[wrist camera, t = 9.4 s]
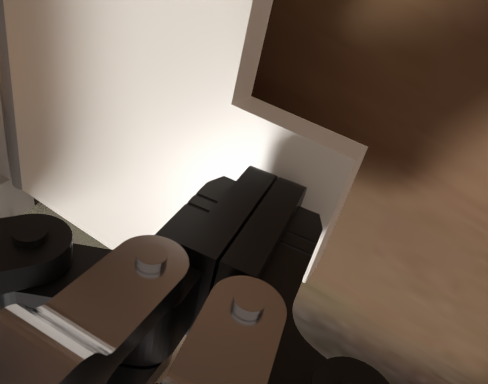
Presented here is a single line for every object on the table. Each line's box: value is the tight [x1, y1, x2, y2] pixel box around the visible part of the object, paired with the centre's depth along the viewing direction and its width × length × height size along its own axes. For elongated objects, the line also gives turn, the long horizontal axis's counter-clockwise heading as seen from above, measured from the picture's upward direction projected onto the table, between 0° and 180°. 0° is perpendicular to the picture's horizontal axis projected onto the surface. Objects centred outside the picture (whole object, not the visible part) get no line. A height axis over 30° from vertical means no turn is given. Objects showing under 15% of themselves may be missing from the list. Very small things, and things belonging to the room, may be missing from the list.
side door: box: [0, 0, 368, 283], centre depth 13 cm, size 11×1×13 cm
